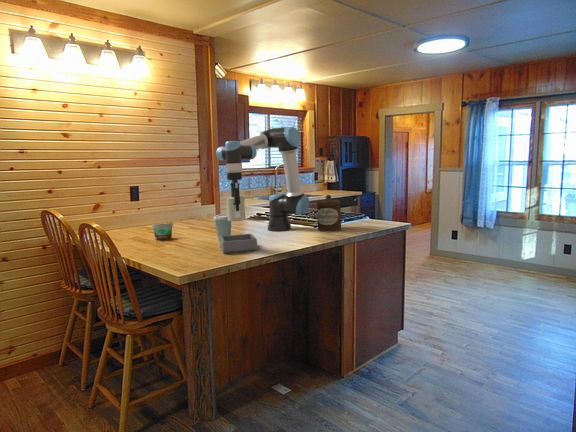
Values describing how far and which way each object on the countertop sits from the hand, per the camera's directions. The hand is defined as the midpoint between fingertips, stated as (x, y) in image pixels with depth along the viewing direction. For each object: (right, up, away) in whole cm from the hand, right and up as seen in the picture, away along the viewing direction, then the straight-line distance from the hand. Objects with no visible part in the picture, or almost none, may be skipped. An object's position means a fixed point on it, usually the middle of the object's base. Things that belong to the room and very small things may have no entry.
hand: (236, 216), depth 211 cm
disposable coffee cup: (-11, -14, +26) cm, 32 cm away
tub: (+1, -17, +2) cm, 17 cm away
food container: (-48, -14, +36) cm, 61 cm away
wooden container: (+53, -9, +49) cm, 72 cm away
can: (0, -2, 0) cm, 2 cm away
